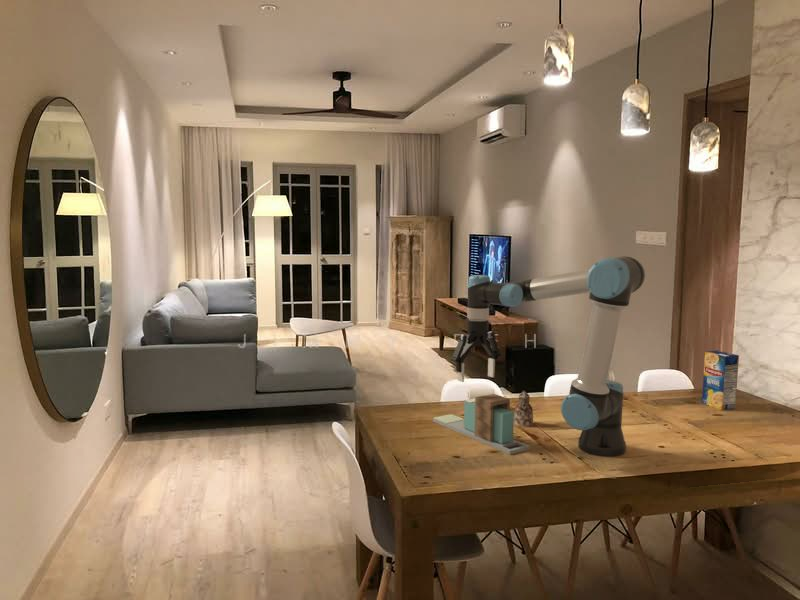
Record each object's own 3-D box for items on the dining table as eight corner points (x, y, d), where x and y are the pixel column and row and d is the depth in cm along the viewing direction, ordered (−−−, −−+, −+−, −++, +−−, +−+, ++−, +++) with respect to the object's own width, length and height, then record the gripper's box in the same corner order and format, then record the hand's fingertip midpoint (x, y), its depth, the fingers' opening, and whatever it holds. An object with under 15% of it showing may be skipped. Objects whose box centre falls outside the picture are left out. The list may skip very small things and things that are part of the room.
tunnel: (508, 437, 227) (509, 398, 225) (489, 442, 222) (490, 402, 221) (493, 431, 234) (494, 393, 232) (474, 435, 229) (475, 397, 227)
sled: (513, 441, 223) (513, 411, 221) (501, 443, 220) (502, 413, 219) (474, 425, 239) (475, 397, 238) (463, 427, 237) (464, 399, 235)
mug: (494, 411, 263) (494, 391, 262) (468, 410, 263) (469, 391, 262) (490, 402, 275) (491, 384, 274) (466, 402, 275) (466, 383, 274)
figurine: (512, 425, 245) (513, 393, 243) (514, 420, 251) (515, 389, 250) (531, 427, 243) (532, 395, 241) (533, 421, 249) (534, 390, 248)
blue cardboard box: (722, 410, 266) (725, 356, 264) (701, 403, 277) (704, 351, 274) (735, 408, 269) (739, 355, 266) (714, 401, 279) (718, 350, 276)
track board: (529, 449, 219) (530, 445, 219) (509, 454, 214) (509, 450, 214) (451, 417, 254) (451, 414, 254) (432, 421, 249) (432, 417, 249)
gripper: (498, 315, 242) (496, 372, 245) (442, 320, 229) (441, 380, 231) (512, 318, 236) (510, 377, 238) (455, 323, 222) (453, 385, 225)
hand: (476, 378), depth 235 cm, fingers open, 13 cm apart
